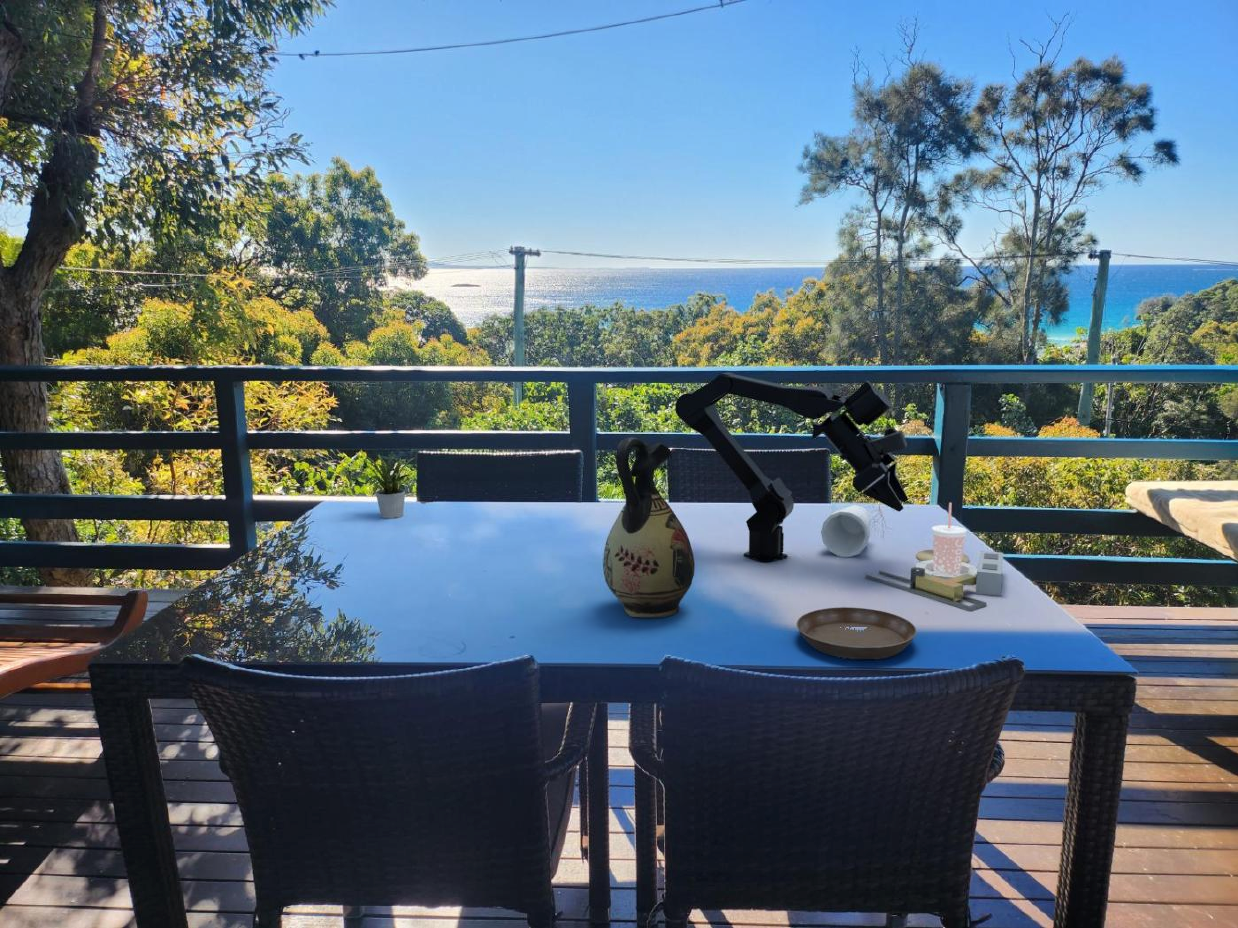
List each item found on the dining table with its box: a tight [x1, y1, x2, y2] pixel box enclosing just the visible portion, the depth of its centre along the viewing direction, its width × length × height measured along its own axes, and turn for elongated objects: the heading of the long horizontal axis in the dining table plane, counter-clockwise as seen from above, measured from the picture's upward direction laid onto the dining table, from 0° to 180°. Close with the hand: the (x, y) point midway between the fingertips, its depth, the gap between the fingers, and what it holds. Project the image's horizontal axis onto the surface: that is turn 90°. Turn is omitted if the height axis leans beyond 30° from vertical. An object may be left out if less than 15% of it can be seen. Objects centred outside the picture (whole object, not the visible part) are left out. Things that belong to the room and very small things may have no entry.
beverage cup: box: [931, 502, 967, 575], centre depth 169 cm, size 6×6×14 cm
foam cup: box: [820, 504, 871, 558], centre depth 188 cm, size 10×9×13 cm
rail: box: [864, 569, 987, 612], centre depth 161 cm, size 4×23×1 cm, turn 33°
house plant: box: [360, 452, 416, 519], centre depth 221 cm, size 14×14×16 cm
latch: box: [909, 566, 977, 602], centre depth 160 cm, size 8×10×3 cm
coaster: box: [915, 549, 970, 564], centre depth 181 cm, size 10×10×1 cm
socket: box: [915, 550, 1004, 597], centre depth 167 cm, size 15×14×4 cm
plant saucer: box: [796, 606, 917, 660], centre depth 138 cm, size 18×18×3 cm
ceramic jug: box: [602, 436, 696, 618], centre depth 151 cm, size 17×15×30 cm
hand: (903, 505), depth 170 cm, fingers open, 9 cm apart
